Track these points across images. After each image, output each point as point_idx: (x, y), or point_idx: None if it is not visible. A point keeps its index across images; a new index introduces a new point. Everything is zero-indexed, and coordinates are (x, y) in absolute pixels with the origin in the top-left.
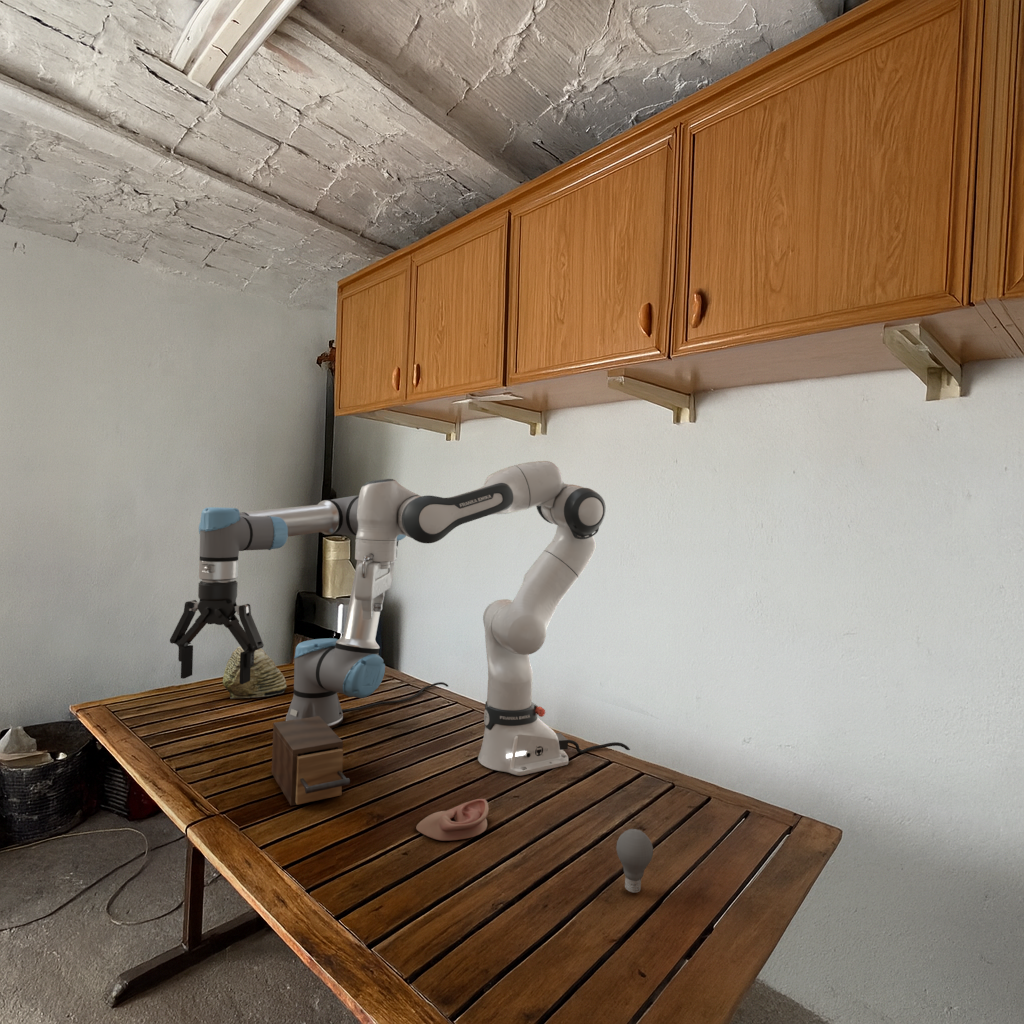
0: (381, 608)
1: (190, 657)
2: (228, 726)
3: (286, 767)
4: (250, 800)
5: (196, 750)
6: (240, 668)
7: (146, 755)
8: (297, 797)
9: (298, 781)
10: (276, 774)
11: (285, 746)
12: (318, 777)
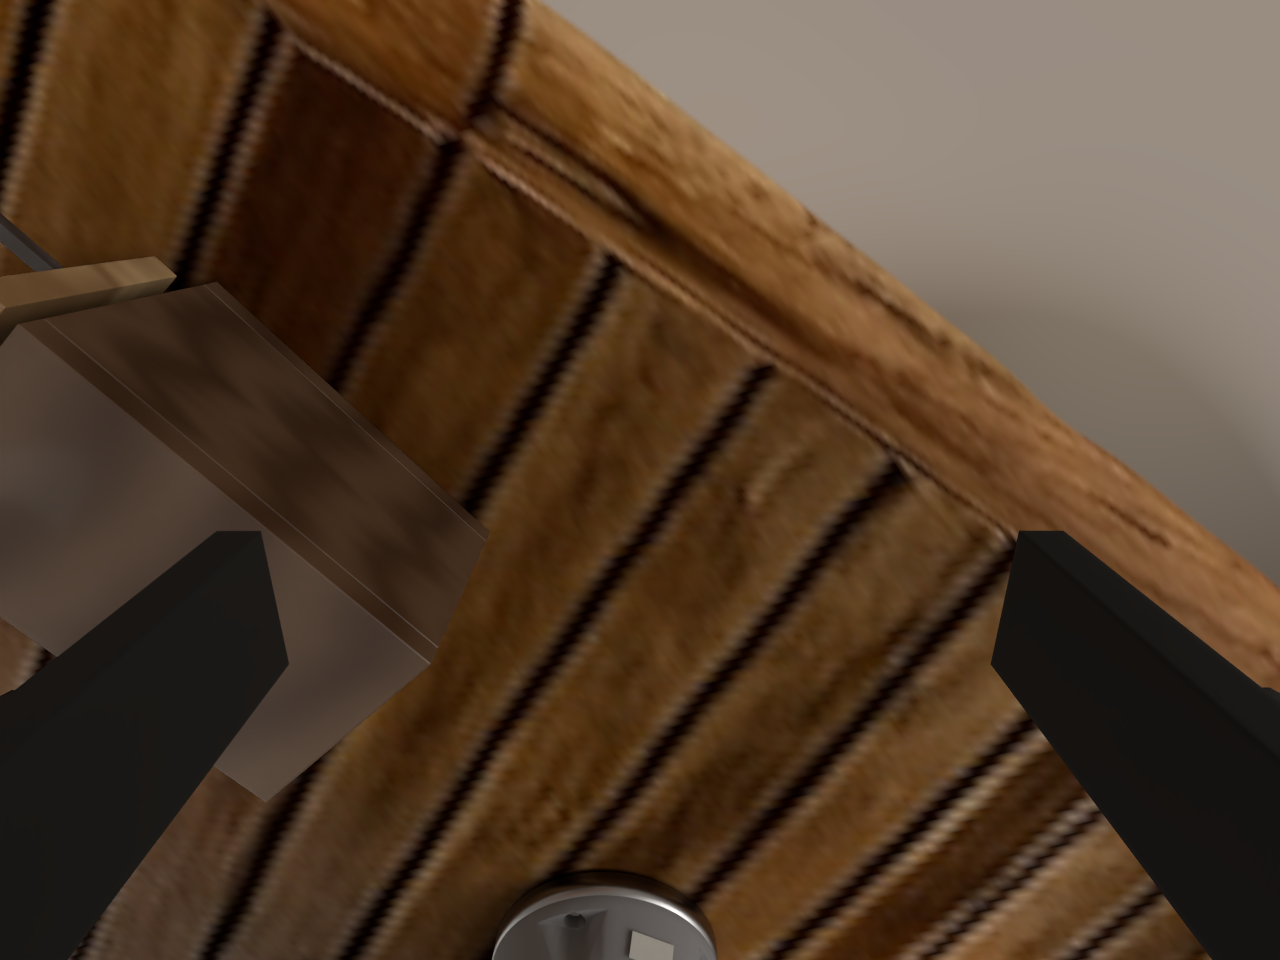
0: None
1: (1145, 807)
2: (917, 855)
3: (227, 385)
4: (413, 286)
5: (920, 643)
6: (125, 640)
7: (1104, 555)
8: (132, 260)
9: (74, 267)
10: (416, 482)
11: (203, 443)
12: None
